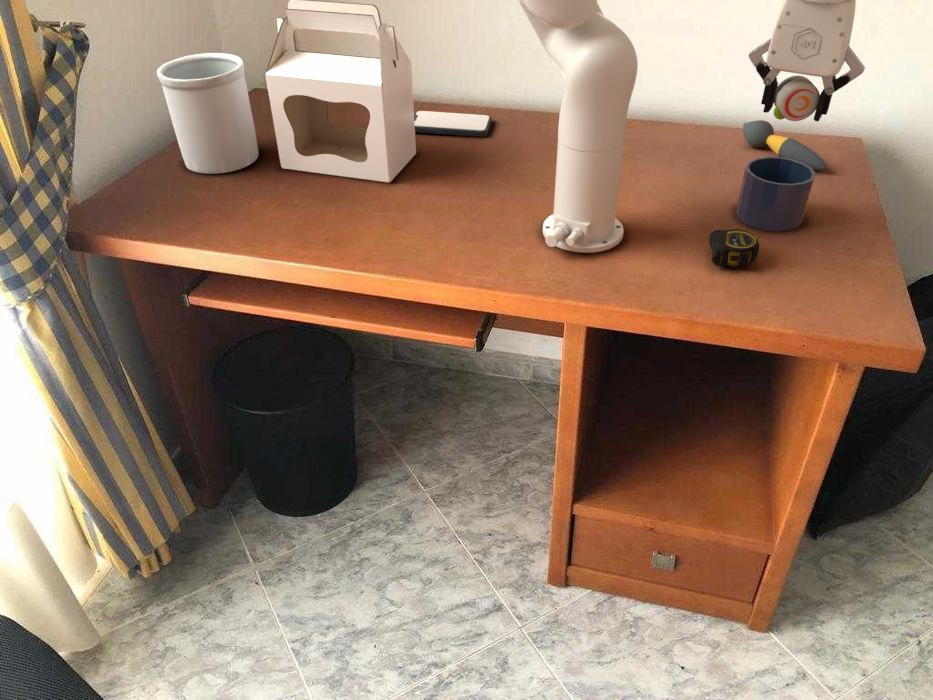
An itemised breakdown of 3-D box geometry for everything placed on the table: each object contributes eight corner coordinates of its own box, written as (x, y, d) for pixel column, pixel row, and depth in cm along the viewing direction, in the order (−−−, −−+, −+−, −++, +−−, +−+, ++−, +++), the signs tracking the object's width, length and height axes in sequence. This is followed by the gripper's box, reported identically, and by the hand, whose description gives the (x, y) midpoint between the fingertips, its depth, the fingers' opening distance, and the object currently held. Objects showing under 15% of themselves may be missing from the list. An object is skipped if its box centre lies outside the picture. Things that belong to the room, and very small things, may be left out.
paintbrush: (836, 169, 140) (843, 142, 137) (820, 176, 138) (827, 150, 135) (743, 135, 153) (749, 110, 150) (727, 142, 150) (732, 117, 147)
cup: (794, 237, 121) (807, 190, 116) (728, 222, 125) (738, 175, 120) (808, 210, 128) (821, 164, 123) (745, 196, 132) (755, 152, 127)
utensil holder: (165, 172, 143) (139, 76, 132) (205, 140, 155) (184, 49, 144) (238, 179, 140) (218, 82, 129) (273, 146, 152) (257, 54, 141)
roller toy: (766, 111, 119) (774, 73, 116) (808, 111, 119) (818, 73, 115) (774, 122, 116) (783, 83, 112) (817, 122, 115) (828, 83, 112)
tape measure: (706, 246, 119) (710, 225, 117) (752, 250, 118) (757, 228, 116) (709, 270, 114) (713, 248, 112) (758, 274, 113) (763, 251, 111)
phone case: (492, 122, 161) (416, 117, 163) (492, 114, 160) (416, 109, 162) (486, 139, 154) (407, 133, 156) (486, 131, 153) (406, 125, 155)
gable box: (279, 168, 144) (251, 7, 127) (312, 141, 154) (290, -12, 136) (391, 183, 138) (378, 17, 121) (417, 154, 148) (409, -4, 131)
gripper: (752, -16, 107) (727, 112, 118) (889, -2, 100) (849, 133, 111) (765, -27, 112) (740, 96, 123) (897, -14, 105) (858, 115, 116)
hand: (792, 112), depth 117 cm, fingers closed on roller toy, 6 cm apart
